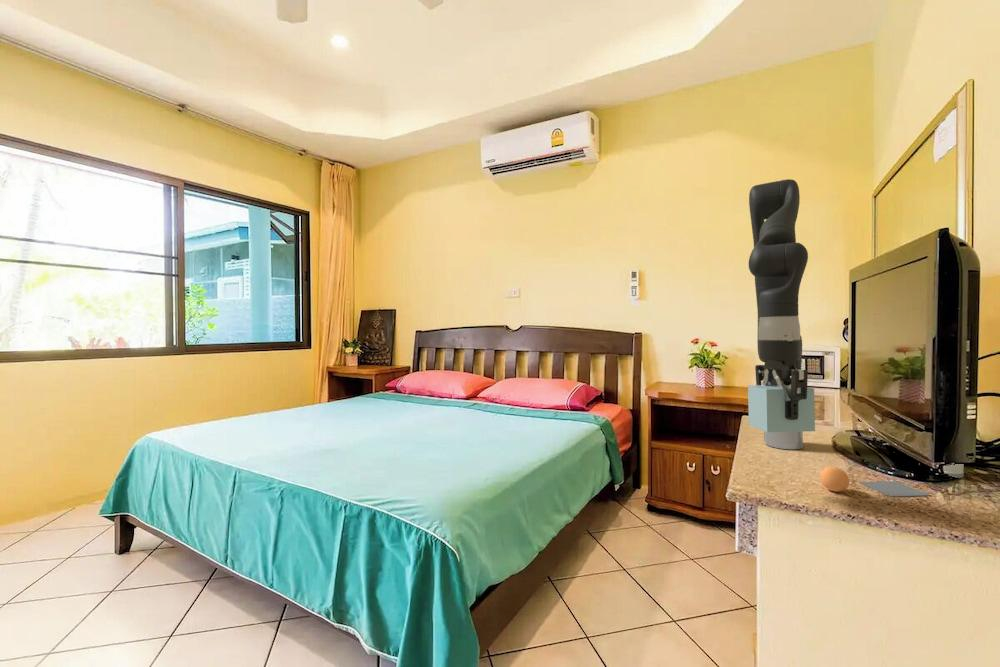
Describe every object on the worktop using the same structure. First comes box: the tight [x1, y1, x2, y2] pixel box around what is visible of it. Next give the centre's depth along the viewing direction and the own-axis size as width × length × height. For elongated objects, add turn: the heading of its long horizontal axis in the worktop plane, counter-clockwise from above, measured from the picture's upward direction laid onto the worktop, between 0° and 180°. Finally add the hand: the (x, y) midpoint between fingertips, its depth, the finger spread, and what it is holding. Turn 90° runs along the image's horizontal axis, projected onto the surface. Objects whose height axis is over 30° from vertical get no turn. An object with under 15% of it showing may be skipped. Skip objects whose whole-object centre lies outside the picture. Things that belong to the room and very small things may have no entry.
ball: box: [819, 466, 850, 492], centre depth 93 cm, size 5×5×5 cm
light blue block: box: [747, 384, 816, 432], centre depth 93 cm, size 7×10×9 cm
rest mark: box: [858, 480, 932, 498], centre depth 93 cm, size 8×8×1 cm
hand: (780, 415), depth 93 cm, fingers closed on light blue block, 6 cm apart
